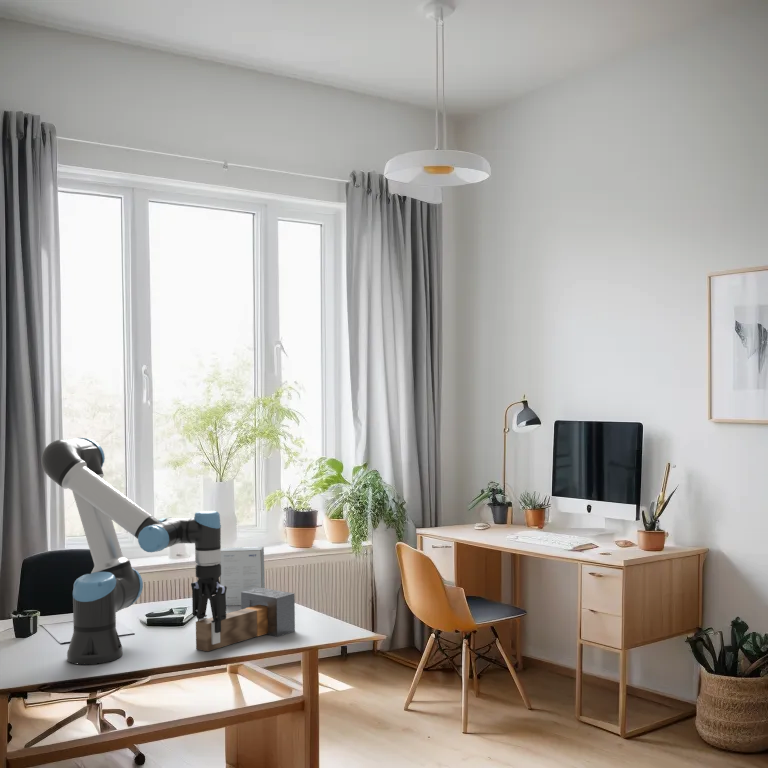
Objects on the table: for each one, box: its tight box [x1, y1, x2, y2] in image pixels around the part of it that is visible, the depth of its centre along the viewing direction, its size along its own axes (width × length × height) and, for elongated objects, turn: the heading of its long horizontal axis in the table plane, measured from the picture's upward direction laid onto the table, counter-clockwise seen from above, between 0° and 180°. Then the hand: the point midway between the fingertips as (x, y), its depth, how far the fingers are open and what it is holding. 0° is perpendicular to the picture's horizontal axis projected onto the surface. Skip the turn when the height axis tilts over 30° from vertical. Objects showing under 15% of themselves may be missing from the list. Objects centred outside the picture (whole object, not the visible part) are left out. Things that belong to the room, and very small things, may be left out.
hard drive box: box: [219, 546, 266, 607], centre depth 318 cm, size 16×8×20 cm, turn 89°
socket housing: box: [240, 587, 296, 638], centre depth 279 cm, size 8×16×12 cm, turn 53°
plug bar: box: [195, 605, 268, 652], centre depth 267 cm, size 26×6×8 cm, turn 142°
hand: (209, 641), depth 259 cm, fingers closed on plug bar, 5 cm apart
